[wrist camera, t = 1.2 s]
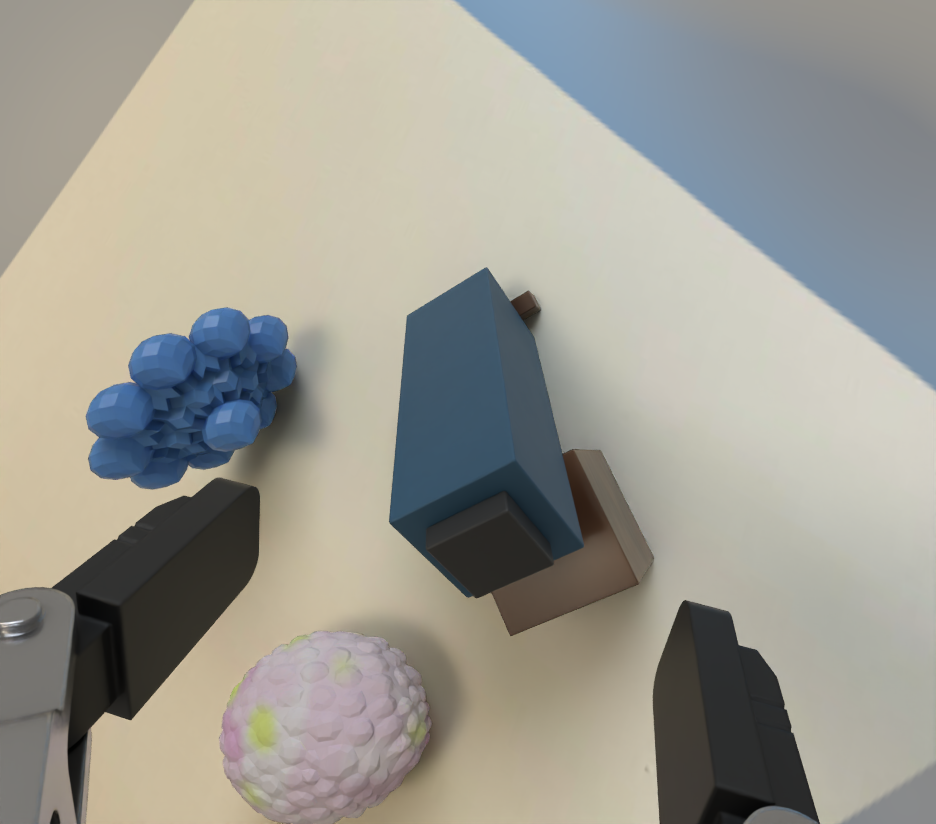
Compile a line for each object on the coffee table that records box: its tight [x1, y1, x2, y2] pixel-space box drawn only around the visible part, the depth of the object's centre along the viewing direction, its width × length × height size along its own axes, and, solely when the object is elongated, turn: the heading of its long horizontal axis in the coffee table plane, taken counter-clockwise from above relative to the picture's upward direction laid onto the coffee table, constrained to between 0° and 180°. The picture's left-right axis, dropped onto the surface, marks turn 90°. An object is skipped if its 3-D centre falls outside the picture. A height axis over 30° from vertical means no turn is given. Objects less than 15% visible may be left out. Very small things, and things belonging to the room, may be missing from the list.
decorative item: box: [219, 631, 432, 824], centre depth 34 cm, size 9×11×10 cm
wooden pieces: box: [491, 291, 654, 636], centre depth 31 cm, size 15×7×7 cm, turn 26°
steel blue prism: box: [389, 267, 584, 598], centre depth 28 cm, size 14×5×14 cm, turn 26°
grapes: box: [86, 307, 297, 489], centre depth 35 cm, size 12×7×12 cm, turn 145°
